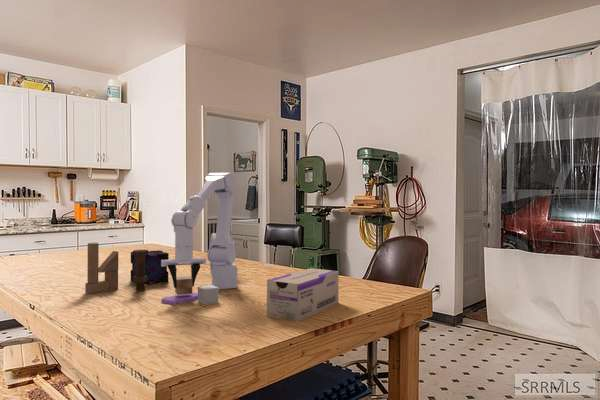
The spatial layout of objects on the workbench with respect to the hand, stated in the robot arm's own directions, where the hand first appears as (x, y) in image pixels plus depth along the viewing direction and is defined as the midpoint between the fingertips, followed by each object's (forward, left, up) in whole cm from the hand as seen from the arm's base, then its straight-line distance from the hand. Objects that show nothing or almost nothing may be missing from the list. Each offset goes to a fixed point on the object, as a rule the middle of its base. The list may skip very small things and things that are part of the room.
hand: (183, 286), depth 140 cm
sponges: (0, 0, -5) cm, 5 cm away
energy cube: (+9, -37, -5) cm, 38 cm away
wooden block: (+26, -25, -5) cm, 36 cm away
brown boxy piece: (0, -1, -2) cm, 2 cm away
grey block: (-7, +6, -5) cm, 10 cm away
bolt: (+13, -20, -5) cm, 24 cm away
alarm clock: (-21, -40, -5) cm, 45 cm away
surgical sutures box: (-33, +26, -5) cm, 42 cm away
